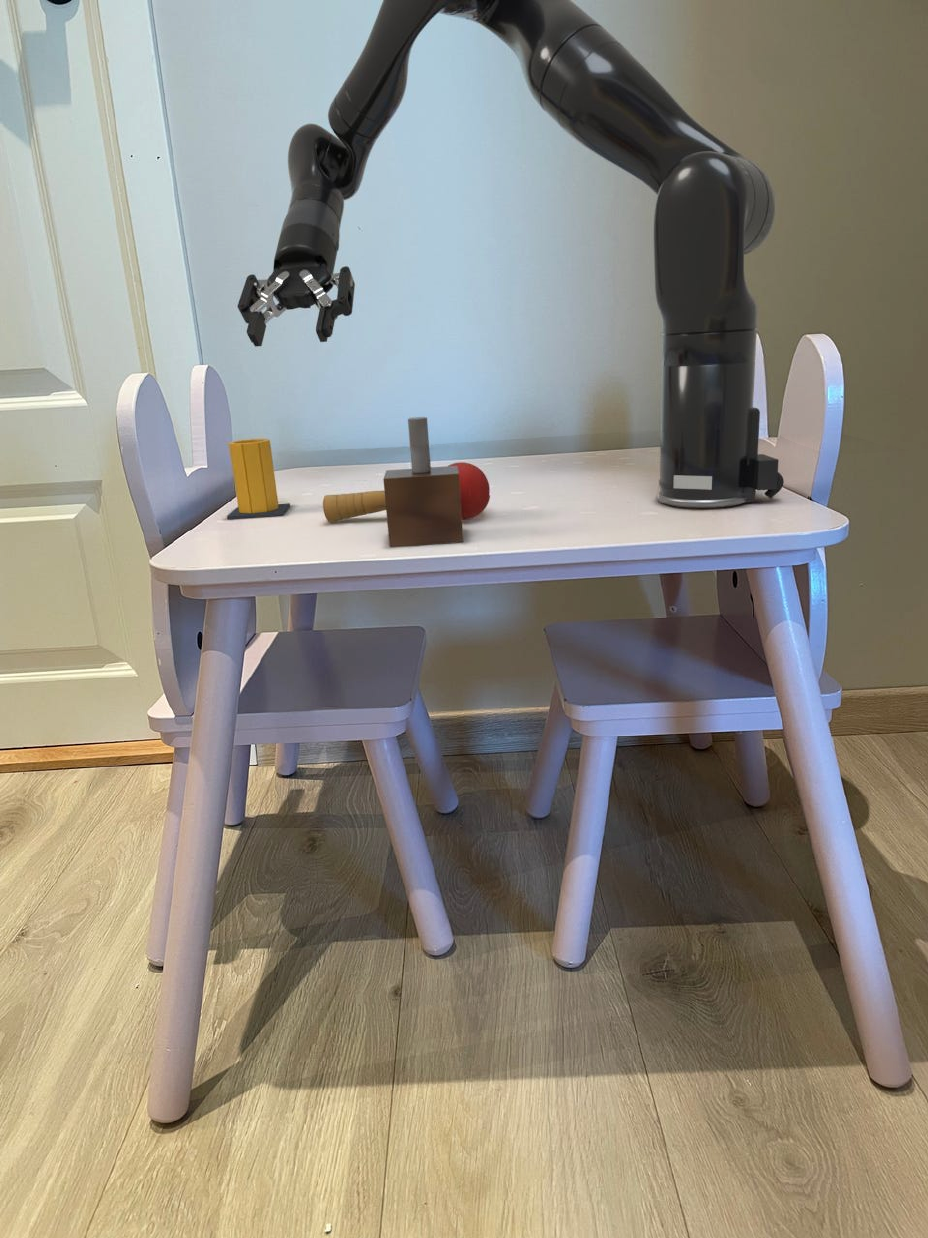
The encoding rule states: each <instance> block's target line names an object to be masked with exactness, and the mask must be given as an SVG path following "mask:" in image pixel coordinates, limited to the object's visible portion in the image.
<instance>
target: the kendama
mask: <svg viewBox="0 0 928 1238" xmlns="http://www.w3.org/2000/svg"><path fill="white" fill-rule="evenodd" d="M448 466H458V471H459V479H460V495H461V511H462V521H465V520H470V519H473V518H476V517H477V516H479V515H481V514H482V513H483V512H484V511H485V510H486V508H487V507H488V504H489V502H490V499H491V494H490V493H491V491H490V490H491V487H490V483H489V479H488V477H487V475H486V474H485V473H484V471H483V470H482V469H480V468H479V467H478V466H477V465H474V464H472V463H469V462H463V461H459V462H455V463H454V462H453V463H451V464H449V465H448ZM322 510H323V513H324V517H325V519H326V521H327V522H328V523H335V522H340V521H344V520H348V519H351V518H356V517H361V516H367V515H370V514H374V513H375V514H376V513H380V512H383V511H384V512H385V511H386V503H385V492H384V490H371V491H364V492H354V493H353V492H351V493H343V494H342V493H341V494H327V495H324V497H323V499H322Z"/></svg>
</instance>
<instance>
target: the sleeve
mask: <svg viewBox="0 0 928 1238" xmlns="http://www.w3.org/2000/svg"><path fill="white" fill-rule="evenodd" d="M228 448H229V456H230V461H231V462H230V463H231V468H232V476H233V482H234V488H235V495H236V502H237V507H238V509H239V513H250V514H251V513H262V512H267V511H272V510H275V509H278V508H279V505H278V504H279V499H278V491H277V483H276V476H275V469H274V462H273V453H272V447H271V440H270V439H269V438H249V439H240V440H239V439H238V440H233V441H229V442H228Z"/></svg>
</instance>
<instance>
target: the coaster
mask: <svg viewBox="0 0 928 1238" xmlns="http://www.w3.org/2000/svg"><path fill="white" fill-rule="evenodd" d="M278 505H279V508H278V509H275V510H272V511H267V512H262V513H251V514H250V513H239V509H238V506H236V508H234V509H233V510H231V512H230V513H229V514H228V515H227V516H226V519H227V520H236V519H251V518H267V517H268V518H269V517H283V516H284V514H286V512H287V511H288V510H289V509H290V508H291V503H290V502H289V503H288V502H287V503H286V502H285V503H278Z"/></svg>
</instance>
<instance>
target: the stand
mask: <svg viewBox="0 0 928 1238" xmlns="http://www.w3.org/2000/svg"><path fill="white" fill-rule="evenodd" d="M407 427H408V438H409V451H410V465H411V468H403V469H402V468H399V469H387V470H385V472H384V475H383V491H384V492H385V503H386V510H385V511H386V512H385V513H386V523H387V534H388V535H387V536H388V546H389V548H396V547H410V546H411V547H412V546H428V545H440V544H454V543H456V544H457V543H464V529H463V528H464V527H463V520H462V511H461V495H460V479H459V471H458V466H449V465H445V466H431V454H430V453H431V452H430V440H429V439H430V438H429V425H428V417H426V416H414V417H409V418H407Z"/></svg>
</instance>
